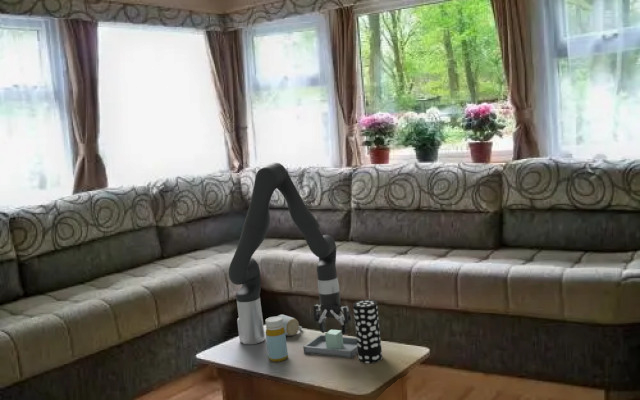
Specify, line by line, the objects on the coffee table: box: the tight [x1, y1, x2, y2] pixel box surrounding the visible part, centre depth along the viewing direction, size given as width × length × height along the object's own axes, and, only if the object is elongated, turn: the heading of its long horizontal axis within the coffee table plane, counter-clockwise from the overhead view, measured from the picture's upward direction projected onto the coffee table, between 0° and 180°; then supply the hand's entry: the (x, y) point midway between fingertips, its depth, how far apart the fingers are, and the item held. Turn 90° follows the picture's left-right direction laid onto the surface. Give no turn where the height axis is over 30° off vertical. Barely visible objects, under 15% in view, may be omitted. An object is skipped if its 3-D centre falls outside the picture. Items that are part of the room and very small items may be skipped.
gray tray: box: [302, 334, 358, 359], centre depth 240 cm, size 20×13×2 cm, turn 60°
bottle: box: [265, 315, 289, 363], centre depth 236 cm, size 7×7×15 cm
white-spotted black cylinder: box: [352, 299, 383, 364], centre depth 227 cm, size 8×8×20 cm
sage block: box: [324, 329, 344, 349], centre depth 240 cm, size 5×5×6 cm
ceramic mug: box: [278, 314, 303, 337], centre depth 263 cm, size 11×8×8 cm
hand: (334, 333), depth 239 cm, fingers open, 8 cm apart
